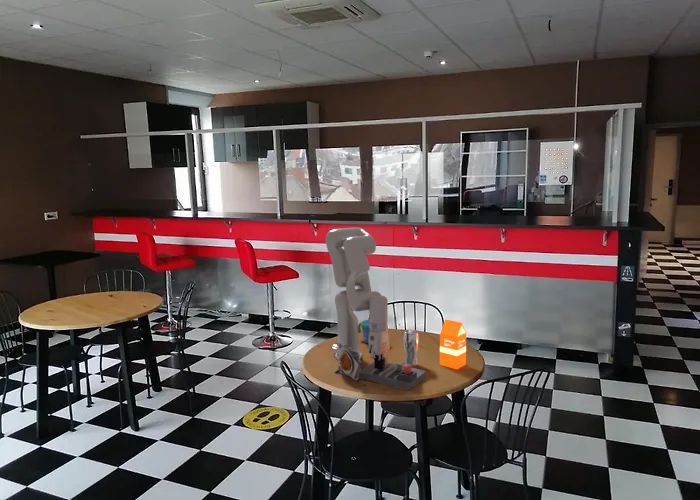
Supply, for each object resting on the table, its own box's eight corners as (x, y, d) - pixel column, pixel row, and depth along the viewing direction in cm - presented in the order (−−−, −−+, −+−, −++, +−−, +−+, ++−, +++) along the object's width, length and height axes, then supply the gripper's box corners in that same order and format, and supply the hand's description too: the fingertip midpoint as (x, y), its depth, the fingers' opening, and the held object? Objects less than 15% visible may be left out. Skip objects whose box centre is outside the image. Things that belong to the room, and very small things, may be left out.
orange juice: (456, 369, 226) (457, 324, 223) (439, 364, 232) (439, 321, 229) (466, 364, 232) (466, 320, 229) (448, 359, 238) (449, 317, 235)
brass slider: (379, 369, 220) (379, 356, 219) (381, 367, 222) (381, 355, 221) (385, 370, 219) (384, 357, 218) (387, 369, 220) (387, 356, 219)
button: (401, 374, 210) (401, 366, 209) (405, 371, 213) (405, 363, 212) (409, 376, 208) (409, 367, 208) (412, 373, 211) (412, 365, 210)
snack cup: (353, 341, 265) (352, 321, 264) (366, 336, 273) (366, 317, 272) (377, 347, 255) (377, 327, 254) (390, 342, 263) (390, 322, 261)
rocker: (373, 359, 228) (374, 357, 228) (376, 358, 230) (376, 356, 230) (385, 364, 225) (385, 362, 225) (387, 363, 227) (388, 361, 227)
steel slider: (396, 371, 218) (396, 363, 218) (398, 369, 220) (398, 362, 219) (402, 372, 216) (402, 365, 216) (404, 371, 218) (404, 363, 217)
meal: (332, 373, 224) (332, 344, 222) (340, 370, 227) (340, 341, 225) (354, 384, 212) (354, 353, 210) (362, 381, 215) (362, 351, 213)
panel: (357, 377, 219) (357, 366, 218) (377, 365, 232) (377, 354, 231) (408, 390, 206) (408, 378, 205) (426, 376, 219) (426, 365, 218)
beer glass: (409, 368, 229) (409, 335, 226) (400, 362, 235) (400, 330, 232) (422, 365, 232) (422, 332, 229) (413, 360, 238) (413, 328, 236)
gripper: (376, 332, 206) (377, 376, 209) (395, 322, 218) (395, 364, 221) (360, 329, 210) (361, 372, 213) (380, 319, 223) (380, 361, 225)
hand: (378, 368), depth 217 cm, fingers closed
